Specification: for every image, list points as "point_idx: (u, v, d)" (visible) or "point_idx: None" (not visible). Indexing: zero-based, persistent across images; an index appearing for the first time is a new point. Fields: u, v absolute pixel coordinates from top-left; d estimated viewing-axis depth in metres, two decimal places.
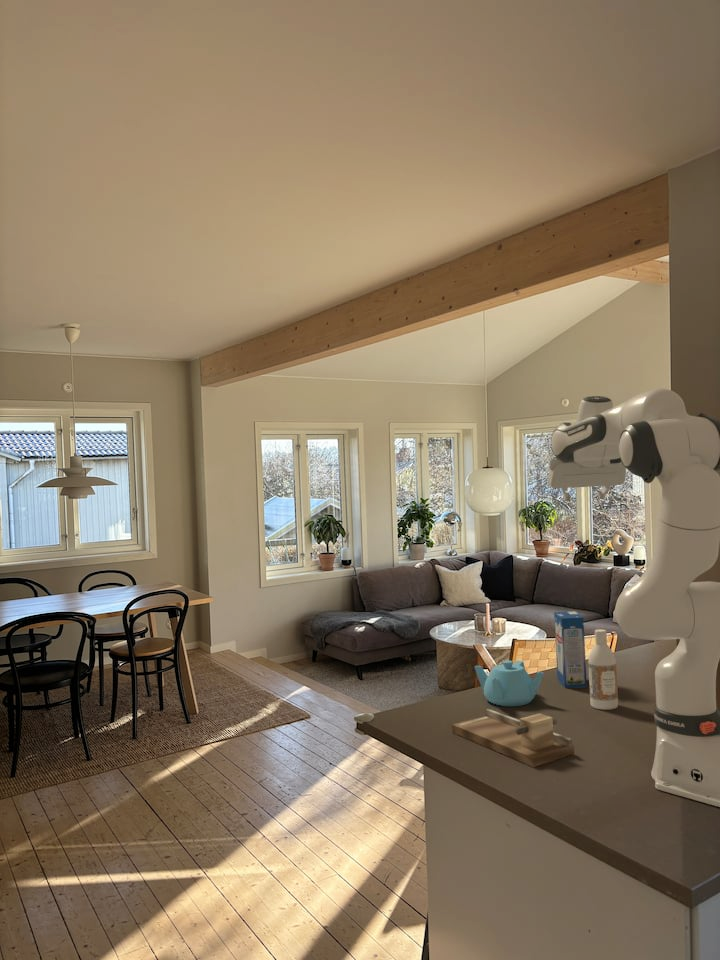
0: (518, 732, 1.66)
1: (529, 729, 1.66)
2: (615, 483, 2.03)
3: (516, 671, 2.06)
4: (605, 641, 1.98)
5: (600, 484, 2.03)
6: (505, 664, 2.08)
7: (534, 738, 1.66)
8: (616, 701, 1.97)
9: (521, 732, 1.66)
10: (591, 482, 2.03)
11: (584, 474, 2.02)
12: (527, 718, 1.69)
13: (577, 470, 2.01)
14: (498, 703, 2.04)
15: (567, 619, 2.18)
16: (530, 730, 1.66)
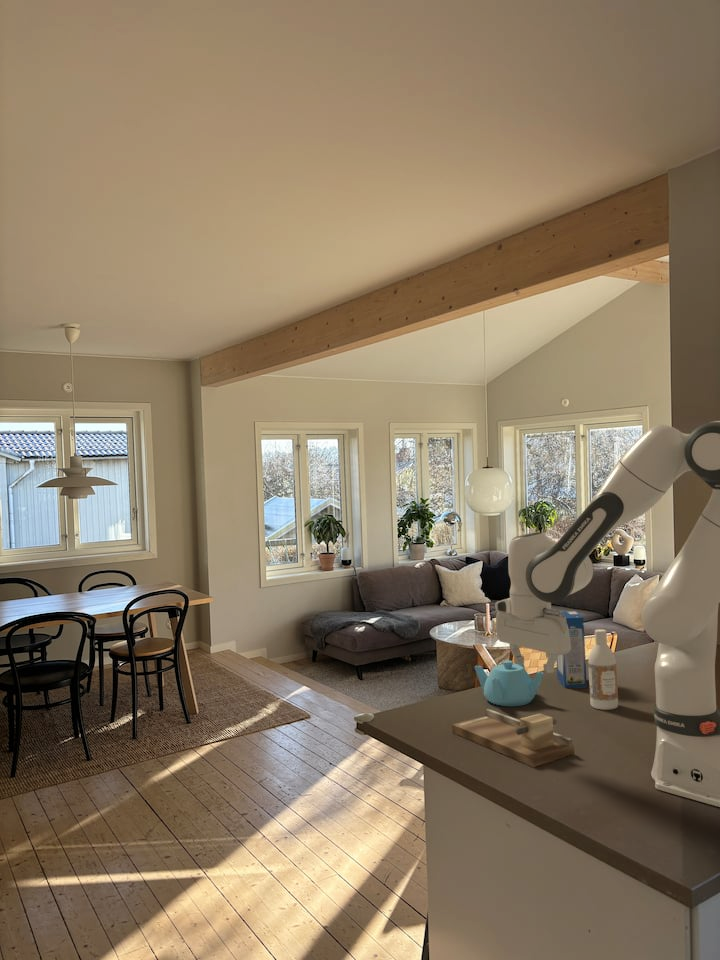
0: (518, 732, 1.66)
1: (529, 729, 1.66)
2: None
3: (516, 671, 2.06)
4: (605, 641, 1.98)
5: None
6: (505, 664, 2.08)
7: (534, 738, 1.66)
8: (616, 701, 1.97)
9: (521, 732, 1.66)
10: None
11: None
12: (527, 718, 1.69)
13: None
14: (498, 703, 2.04)
15: (567, 619, 2.18)
16: (530, 730, 1.66)
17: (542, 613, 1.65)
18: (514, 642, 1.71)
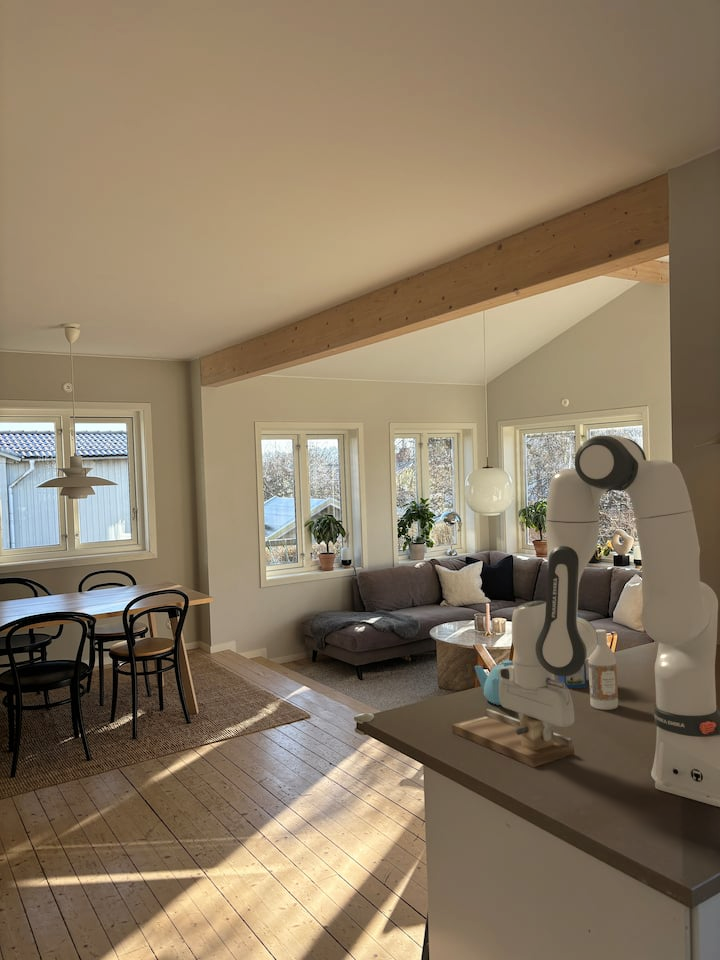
0: (518, 732, 1.66)
1: (529, 729, 1.66)
2: None
3: None
4: (605, 641, 1.98)
5: None
6: (505, 664, 2.08)
7: (534, 738, 1.66)
8: (616, 701, 1.97)
9: (521, 732, 1.65)
10: None
11: None
12: (527, 718, 1.69)
13: None
14: (498, 703, 2.04)
15: None
16: (530, 730, 1.66)
17: (546, 683, 1.65)
18: (517, 709, 1.71)
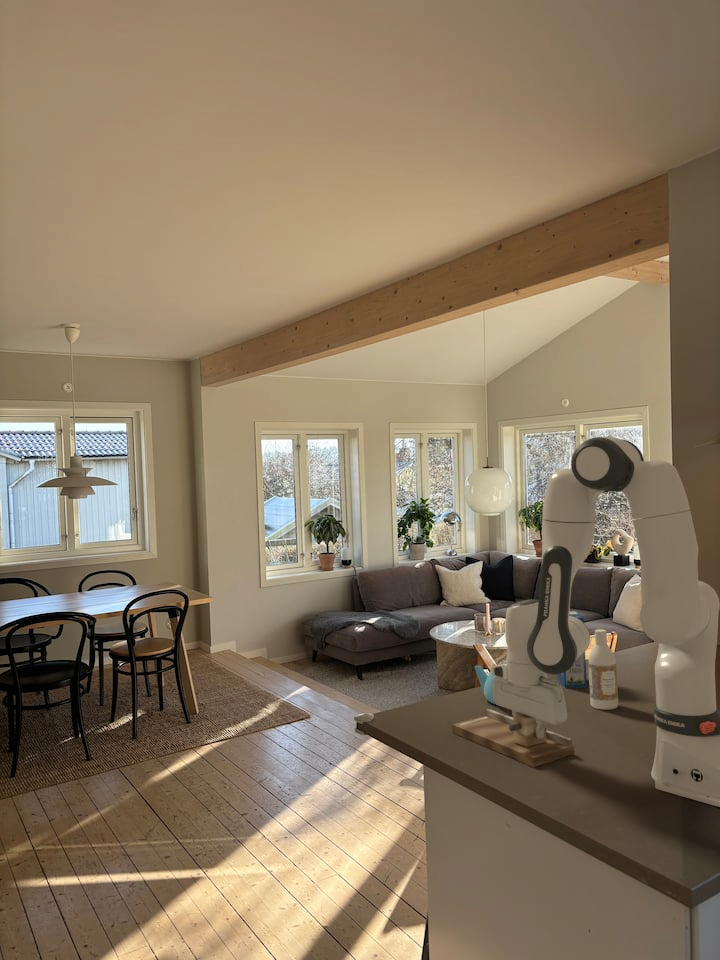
0: (511, 728, 1.67)
1: (522, 725, 1.68)
2: None
3: None
4: (605, 641, 1.98)
5: None
6: None
7: (527, 735, 1.67)
8: (616, 701, 1.97)
9: (514, 728, 1.67)
10: None
11: None
12: (520, 715, 1.70)
13: None
14: None
15: None
16: (523, 726, 1.68)
17: (539, 681, 1.66)
18: (511, 707, 1.73)
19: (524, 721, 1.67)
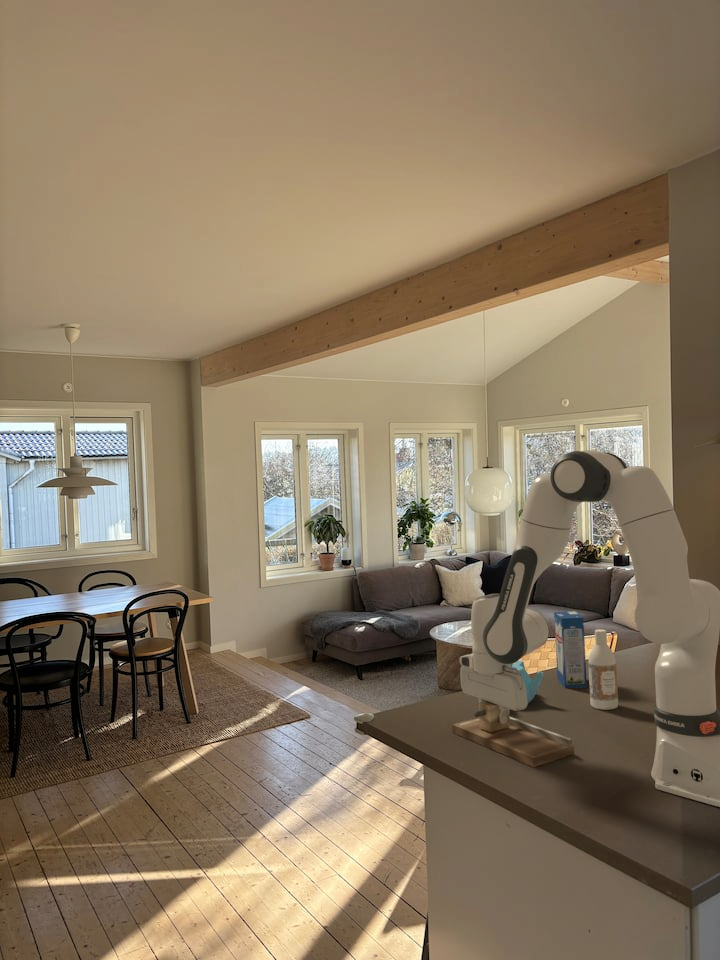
0: (476, 714, 1.78)
1: (486, 712, 1.78)
2: None
3: None
4: (605, 641, 1.98)
5: None
6: None
7: (491, 721, 1.78)
8: (616, 701, 1.97)
9: (479, 715, 1.78)
10: None
11: None
12: (485, 702, 1.81)
13: None
14: None
15: (567, 619, 2.18)
16: (487, 713, 1.78)
17: (502, 670, 1.77)
18: (476, 695, 1.83)
19: (488, 708, 1.78)
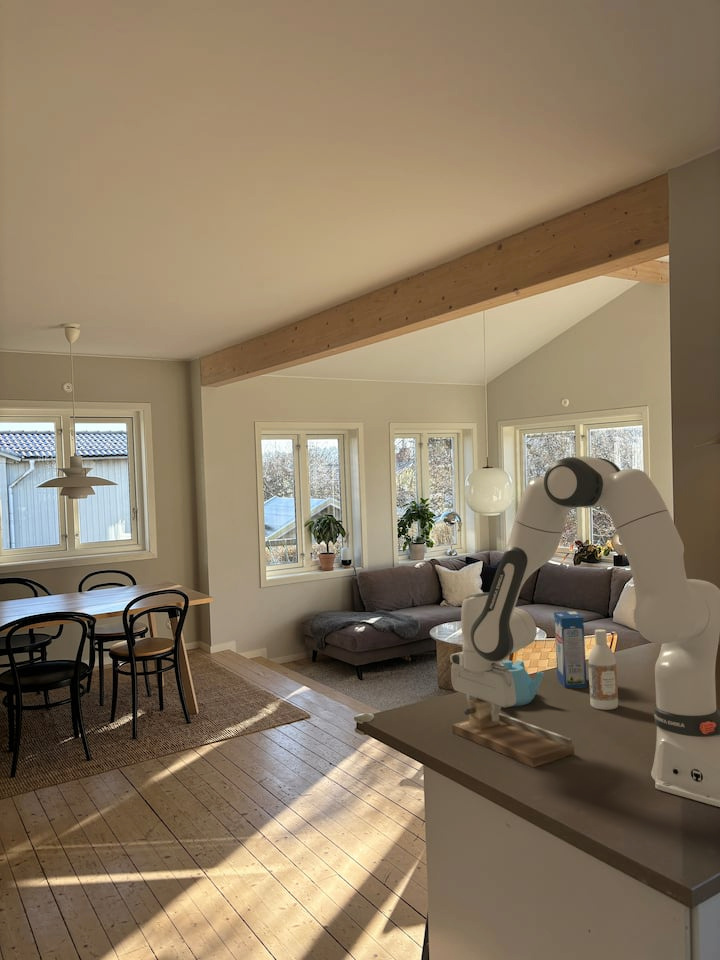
0: (466, 712, 1.81)
1: (476, 710, 1.82)
2: None
3: (516, 671, 2.06)
4: (605, 641, 1.98)
5: None
6: (505, 664, 2.08)
7: (481, 718, 1.81)
8: (616, 701, 1.97)
9: (469, 712, 1.81)
10: None
11: None
12: (475, 700, 1.84)
13: None
14: None
15: (567, 619, 2.18)
16: (477, 710, 1.81)
17: (491, 667, 1.80)
18: (467, 692, 1.87)
19: (478, 705, 1.81)
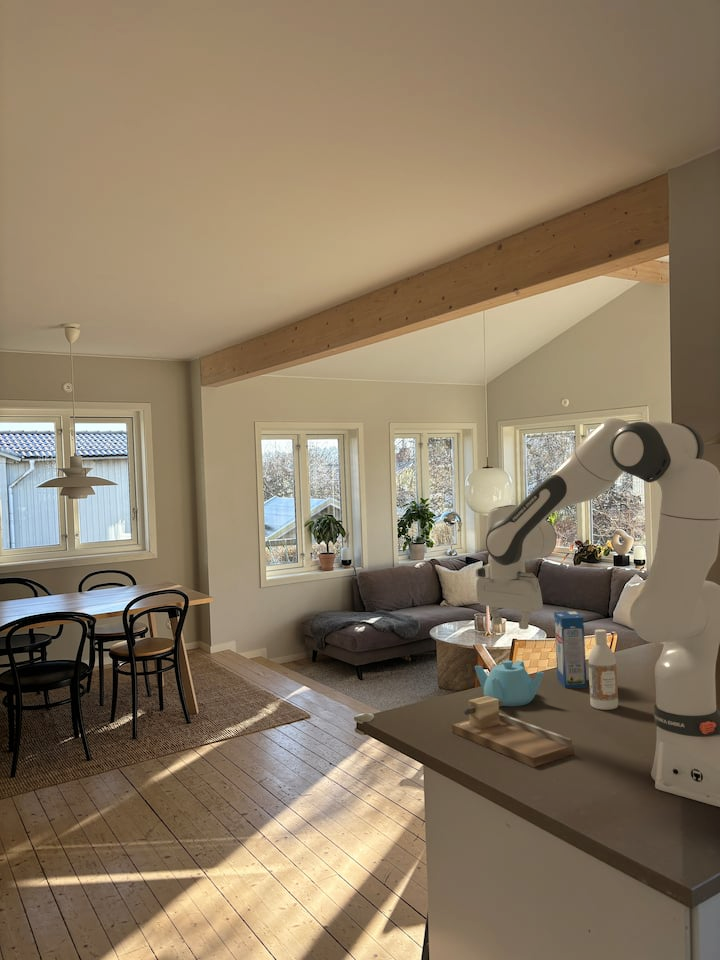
0: (466, 712, 1.81)
1: (476, 710, 1.82)
2: None
3: (516, 671, 2.06)
4: (605, 641, 1.98)
5: None
6: (505, 664, 2.08)
7: (481, 718, 1.81)
8: (616, 701, 1.97)
9: (469, 712, 1.81)
10: None
11: None
12: (475, 700, 1.84)
13: None
14: None
15: (567, 619, 2.18)
16: (477, 710, 1.81)
17: (517, 576, 1.85)
18: (493, 604, 1.91)
19: (478, 705, 1.81)
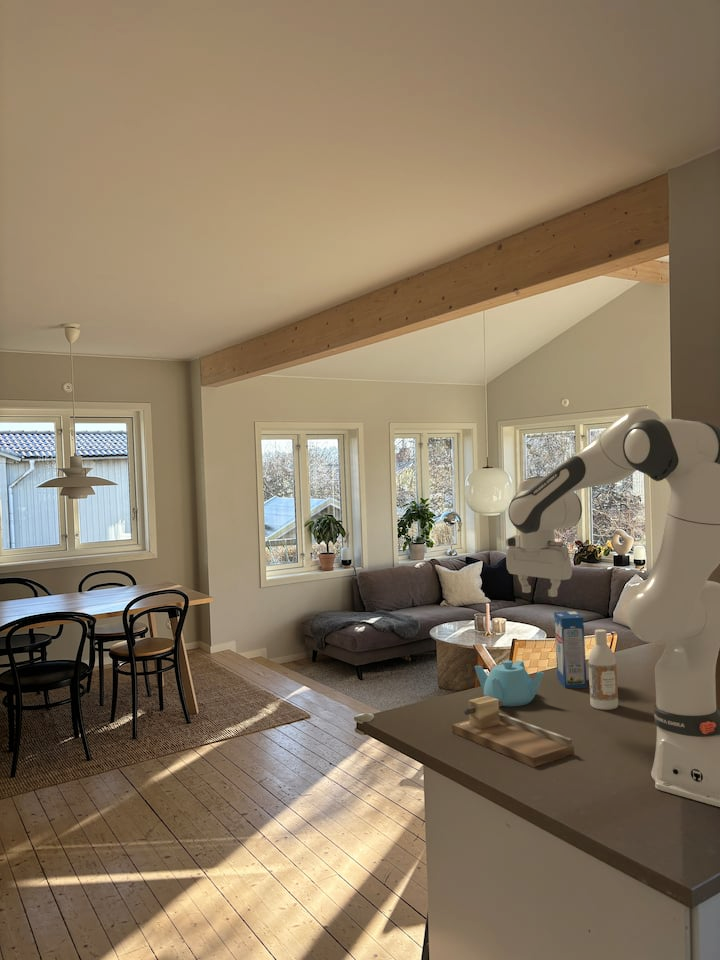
0: (466, 712, 1.81)
1: (476, 710, 1.82)
2: None
3: (516, 671, 2.06)
4: (605, 641, 1.98)
5: None
6: (505, 664, 2.08)
7: (481, 718, 1.81)
8: (616, 701, 1.97)
9: (469, 712, 1.81)
10: None
11: None
12: (475, 700, 1.84)
13: None
14: None
15: (567, 619, 2.18)
16: (477, 710, 1.81)
17: (547, 545, 1.90)
18: (522, 572, 1.97)
19: (478, 705, 1.81)
